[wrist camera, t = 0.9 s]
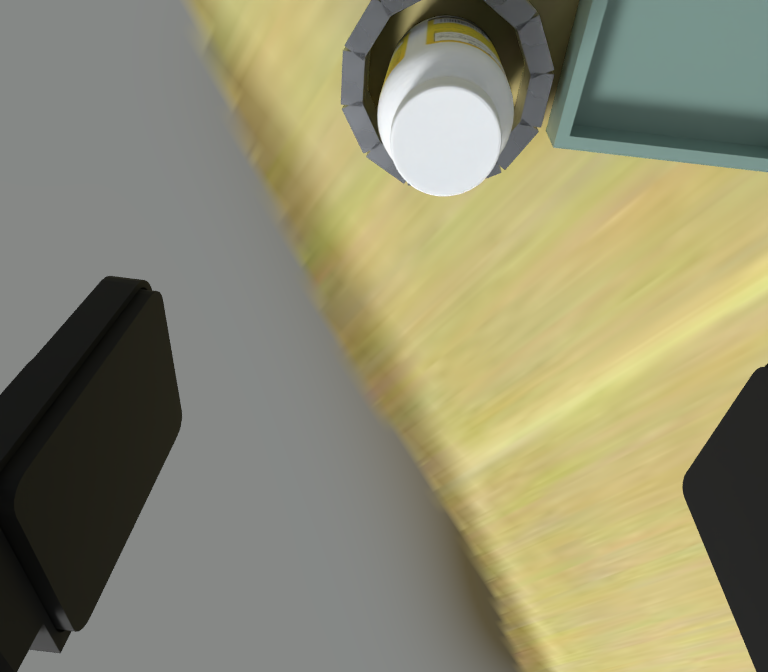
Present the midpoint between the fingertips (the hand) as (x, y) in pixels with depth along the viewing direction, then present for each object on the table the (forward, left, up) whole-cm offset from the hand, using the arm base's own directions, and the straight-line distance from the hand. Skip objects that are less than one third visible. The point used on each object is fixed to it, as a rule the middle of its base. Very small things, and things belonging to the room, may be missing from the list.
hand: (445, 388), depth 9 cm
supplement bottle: (0, 0, -23) cm, 23 cm away
